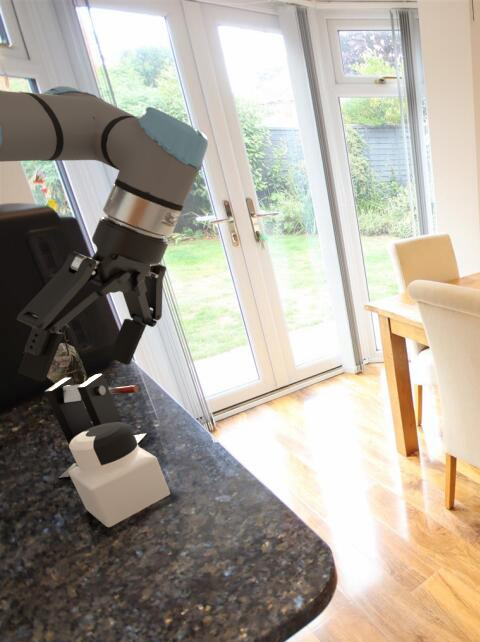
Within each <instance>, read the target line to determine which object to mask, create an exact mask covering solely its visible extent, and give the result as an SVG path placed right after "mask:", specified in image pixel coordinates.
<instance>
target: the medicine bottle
mask: <svg viewBox="0 0 480 642" xmlns="http://www.w3.org/2000/svg"><path fill="white" fill-rule="evenodd" d="M134 435H135V433H134V431H133V428H132V426H131V425H130V424H128V423H126V422H123V421H122V422H113V423H105V424H101V425H98V426H95V427H94V426H93V427H92V428H89V429H87V430H85V431H83V432H82V433H80V434H79V435H77V436H76V437H74V438H73V439H72V441H71V442H70V444H68V448H69V450H70V452H71V454H72V457H73V459H74V461H75V462H76V463H77V465H78V467H76V468H74V469H71V470H70V471H69V475H70V477H71V478H70V479H71V481H72V483H73V485H74V487H75V490H76V491H77V493H78V496H79V498H80V500H81V502H82V504H83V506H84V508H85V510H86V511H87V512H88V513H90V514H91V515H92V516H93V517H94V518H95V519H97V520H98V521H99V522H101V524H103V525H104V526H105V527H107V528H111V527H113V526H115V525H117V524H118V523H120V522H123V521H124V520H126V519H128V518H130V517H131V516H133V515H135V514H136V513H139V512H140V511H142V510H144V509H146V508H148V507H150V506H152V505H154V504H156V503H157V502H159V501H161V500H162V499H165V498H166V497H168V496H170V495H171V491H170V488H169V486H168V483H167V481H166V478H165V476H164V473H163V470H162V469H161V466H160V463H159V460H158V458H157V456H155V455H154V454H152V453H151V452H148V451H147V450H145V449H144V448H142V447H140V446H139V444H137V441H136V439H135V436H134Z"/></svg>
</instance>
